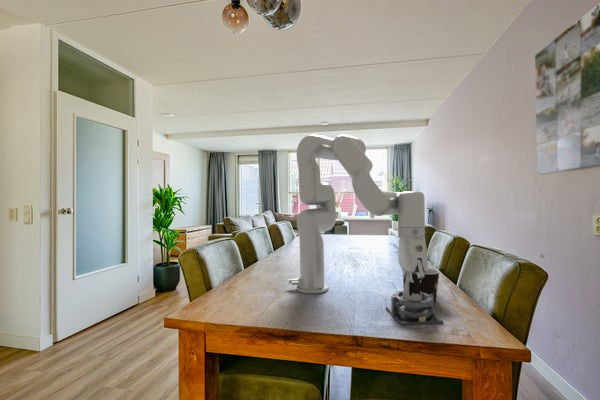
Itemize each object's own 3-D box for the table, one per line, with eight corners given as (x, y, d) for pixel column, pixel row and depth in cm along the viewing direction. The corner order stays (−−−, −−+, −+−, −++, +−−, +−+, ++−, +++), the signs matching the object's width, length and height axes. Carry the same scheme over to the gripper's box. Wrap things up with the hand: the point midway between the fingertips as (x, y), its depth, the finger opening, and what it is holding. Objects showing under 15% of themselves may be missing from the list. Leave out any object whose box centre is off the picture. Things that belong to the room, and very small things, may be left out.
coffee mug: (428, 306, 94) (427, 275, 94) (407, 298, 101) (406, 269, 101) (450, 299, 99) (450, 270, 99) (429, 292, 107) (429, 265, 107)
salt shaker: (416, 304, 90) (416, 263, 89) (426, 311, 84) (426, 267, 84) (398, 305, 89) (398, 263, 89) (407, 312, 83) (406, 268, 83)
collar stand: (400, 325, 80) (400, 304, 80) (385, 308, 92) (384, 290, 92) (444, 323, 81) (444, 302, 81) (423, 307, 93) (422, 288, 93)
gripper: (438, 235, 78) (438, 303, 79) (410, 229, 95) (411, 284, 95) (411, 236, 78) (412, 304, 78) (388, 229, 94) (389, 285, 94)
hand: (411, 292), depth 86 cm, fingers closed on salt shaker, 3 cm apart
